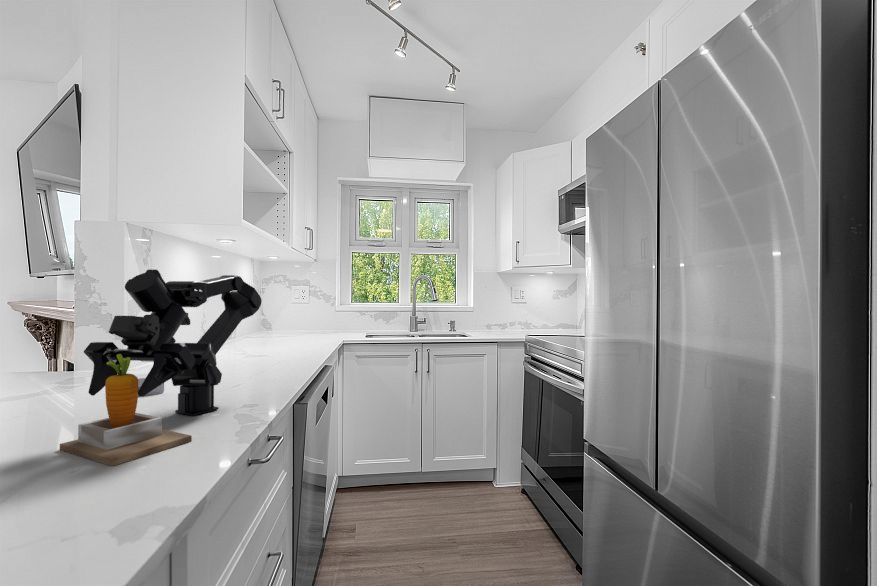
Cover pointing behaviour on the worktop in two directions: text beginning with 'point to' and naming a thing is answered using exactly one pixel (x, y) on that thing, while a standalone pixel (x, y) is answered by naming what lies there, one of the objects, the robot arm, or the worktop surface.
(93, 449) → the holder
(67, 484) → the worktop surface
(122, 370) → the carrot
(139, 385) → the charger
